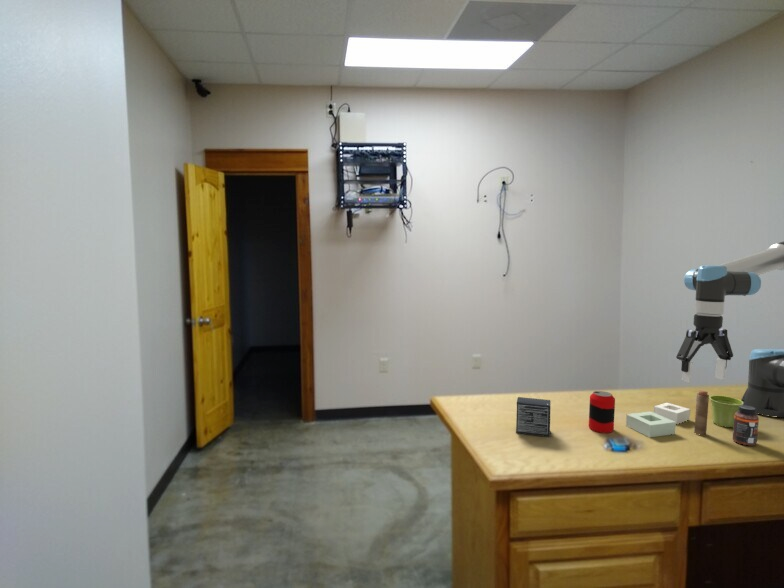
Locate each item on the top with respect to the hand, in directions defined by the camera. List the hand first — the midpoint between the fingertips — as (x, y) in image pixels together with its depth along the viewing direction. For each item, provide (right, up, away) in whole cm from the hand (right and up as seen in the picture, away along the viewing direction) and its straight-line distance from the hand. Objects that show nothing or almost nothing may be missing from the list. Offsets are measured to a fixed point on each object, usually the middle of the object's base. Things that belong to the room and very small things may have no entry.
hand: (703, 380), depth 148 cm
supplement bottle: (+9, -19, -5) cm, 21 cm away
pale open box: (-14, -17, +5) cm, 23 cm away
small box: (-53, -18, +4) cm, 56 cm away
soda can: (-30, -17, +6) cm, 35 cm away
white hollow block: (-1, -16, +15) cm, 22 cm away
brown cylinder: (0, -18, +2) cm, 18 cm away
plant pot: (+14, -17, +10) cm, 24 cm away
